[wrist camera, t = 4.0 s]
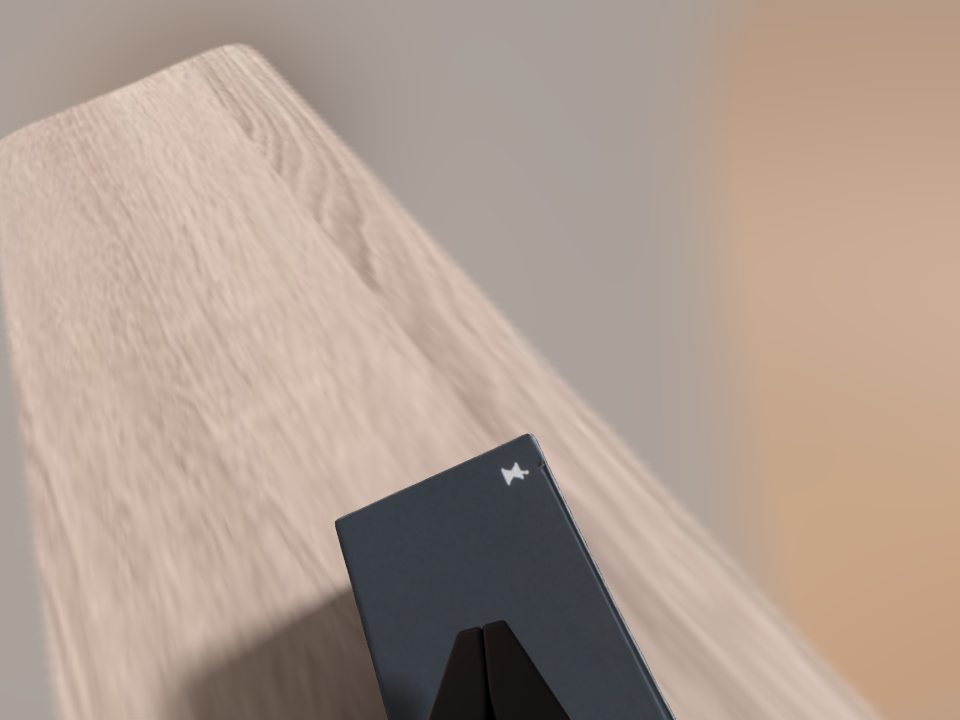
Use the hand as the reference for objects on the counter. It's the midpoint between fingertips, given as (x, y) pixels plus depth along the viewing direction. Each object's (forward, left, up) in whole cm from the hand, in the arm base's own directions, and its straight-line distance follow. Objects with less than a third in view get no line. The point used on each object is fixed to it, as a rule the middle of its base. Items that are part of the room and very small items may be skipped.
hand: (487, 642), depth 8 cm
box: (0, 0, -13) cm, 13 cm away
